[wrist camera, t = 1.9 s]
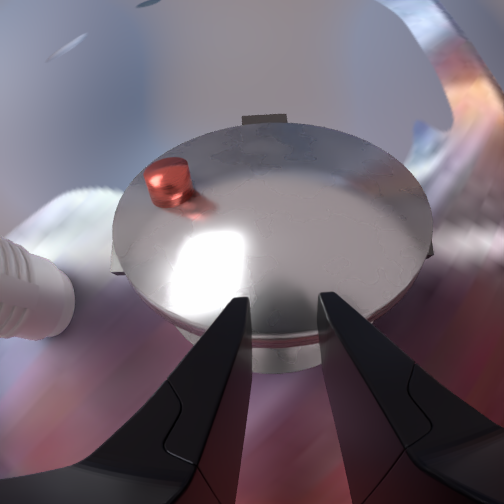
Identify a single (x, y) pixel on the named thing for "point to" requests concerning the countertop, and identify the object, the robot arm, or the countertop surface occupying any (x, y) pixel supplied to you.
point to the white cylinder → (32, 295)
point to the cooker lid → (272, 229)
